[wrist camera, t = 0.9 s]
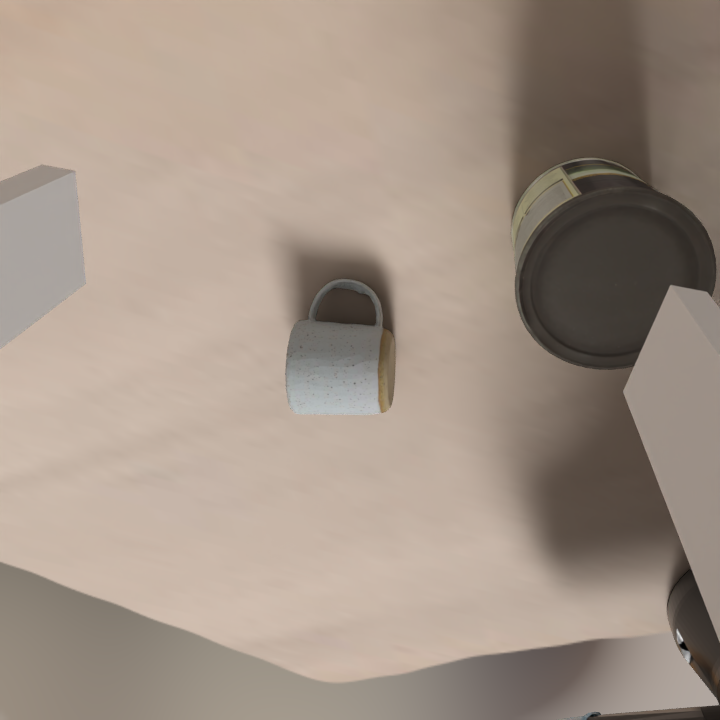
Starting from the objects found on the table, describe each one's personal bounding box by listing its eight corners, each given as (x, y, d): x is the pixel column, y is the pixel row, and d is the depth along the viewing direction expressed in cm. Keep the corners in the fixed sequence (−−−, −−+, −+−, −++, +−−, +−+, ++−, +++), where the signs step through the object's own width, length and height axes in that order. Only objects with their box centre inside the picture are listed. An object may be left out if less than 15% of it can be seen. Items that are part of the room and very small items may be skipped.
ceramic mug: (399, 392, 55) (386, 435, 48) (310, 388, 57) (285, 429, 50) (397, 275, 51) (383, 304, 44) (301, 274, 52) (272, 302, 45)
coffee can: (632, 131, 43) (689, 154, 31) (670, 265, 46) (737, 336, 34) (489, 190, 47) (488, 233, 34) (534, 312, 50) (548, 392, 37)
